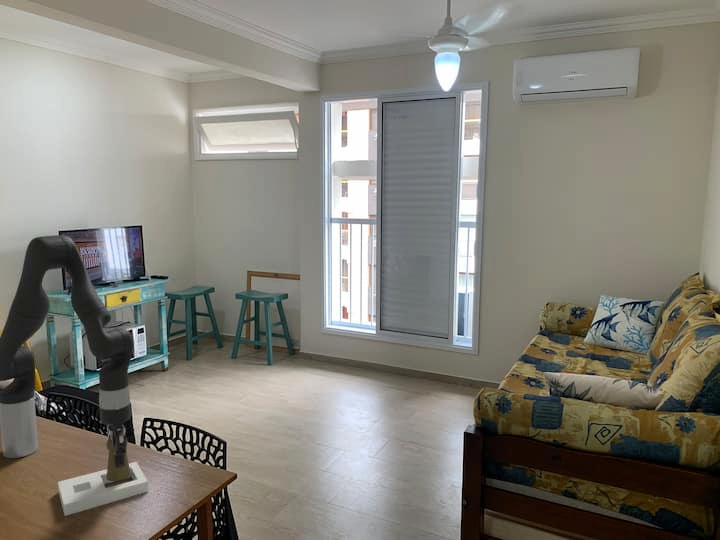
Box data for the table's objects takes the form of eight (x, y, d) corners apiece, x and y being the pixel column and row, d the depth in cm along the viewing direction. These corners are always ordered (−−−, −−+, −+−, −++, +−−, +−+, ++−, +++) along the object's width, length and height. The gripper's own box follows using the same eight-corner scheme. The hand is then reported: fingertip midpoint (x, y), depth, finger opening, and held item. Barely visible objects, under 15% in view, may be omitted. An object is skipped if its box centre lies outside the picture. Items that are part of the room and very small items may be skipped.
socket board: (58, 492, 143) (57, 481, 143) (136, 471, 155) (136, 461, 154) (64, 516, 133) (63, 504, 132) (148, 491, 144) (147, 481, 144)
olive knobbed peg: (121, 482, 142) (119, 443, 141) (101, 479, 143) (99, 441, 142) (135, 471, 148) (133, 433, 147) (116, 468, 149) (114, 431, 148)
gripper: (95, 397, 147) (98, 455, 149) (104, 415, 135) (108, 477, 137) (124, 392, 151) (126, 448, 153) (136, 408, 139) (138, 469, 142)
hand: (117, 462), depth 145 cm, fingers closed on olive knobbed peg, 4 cm apart
